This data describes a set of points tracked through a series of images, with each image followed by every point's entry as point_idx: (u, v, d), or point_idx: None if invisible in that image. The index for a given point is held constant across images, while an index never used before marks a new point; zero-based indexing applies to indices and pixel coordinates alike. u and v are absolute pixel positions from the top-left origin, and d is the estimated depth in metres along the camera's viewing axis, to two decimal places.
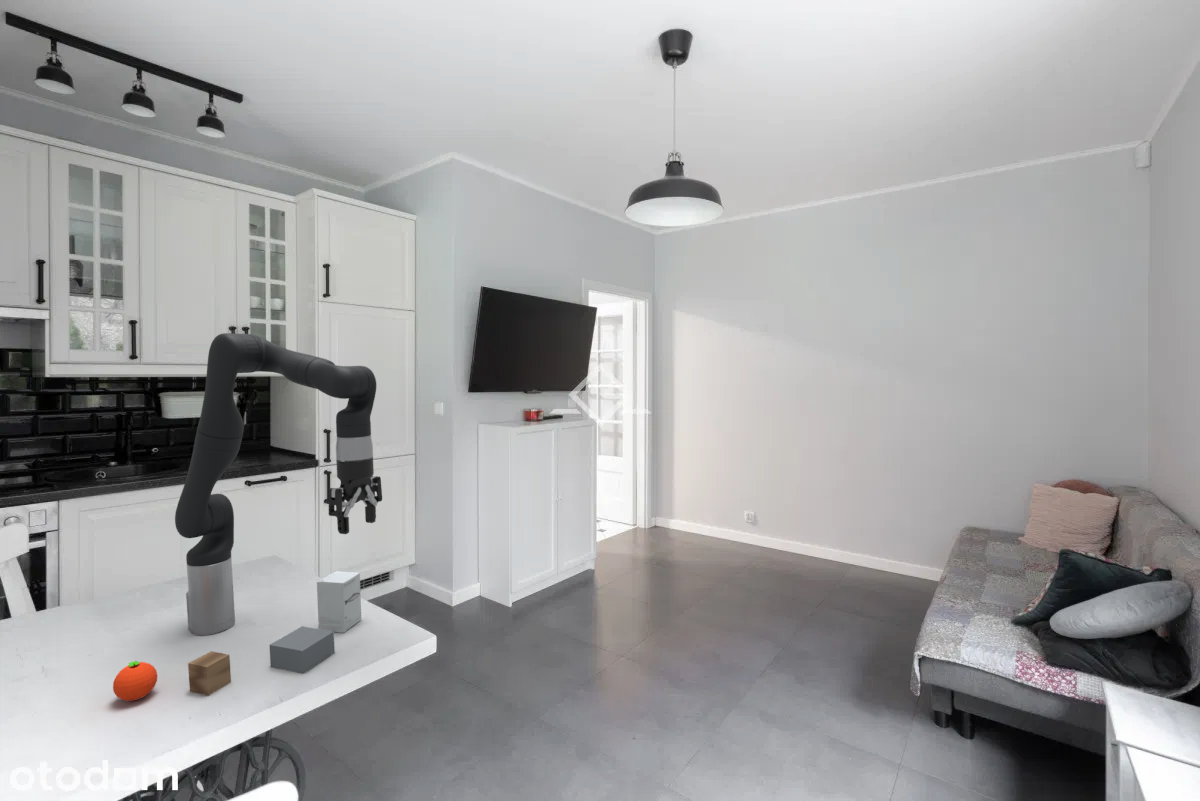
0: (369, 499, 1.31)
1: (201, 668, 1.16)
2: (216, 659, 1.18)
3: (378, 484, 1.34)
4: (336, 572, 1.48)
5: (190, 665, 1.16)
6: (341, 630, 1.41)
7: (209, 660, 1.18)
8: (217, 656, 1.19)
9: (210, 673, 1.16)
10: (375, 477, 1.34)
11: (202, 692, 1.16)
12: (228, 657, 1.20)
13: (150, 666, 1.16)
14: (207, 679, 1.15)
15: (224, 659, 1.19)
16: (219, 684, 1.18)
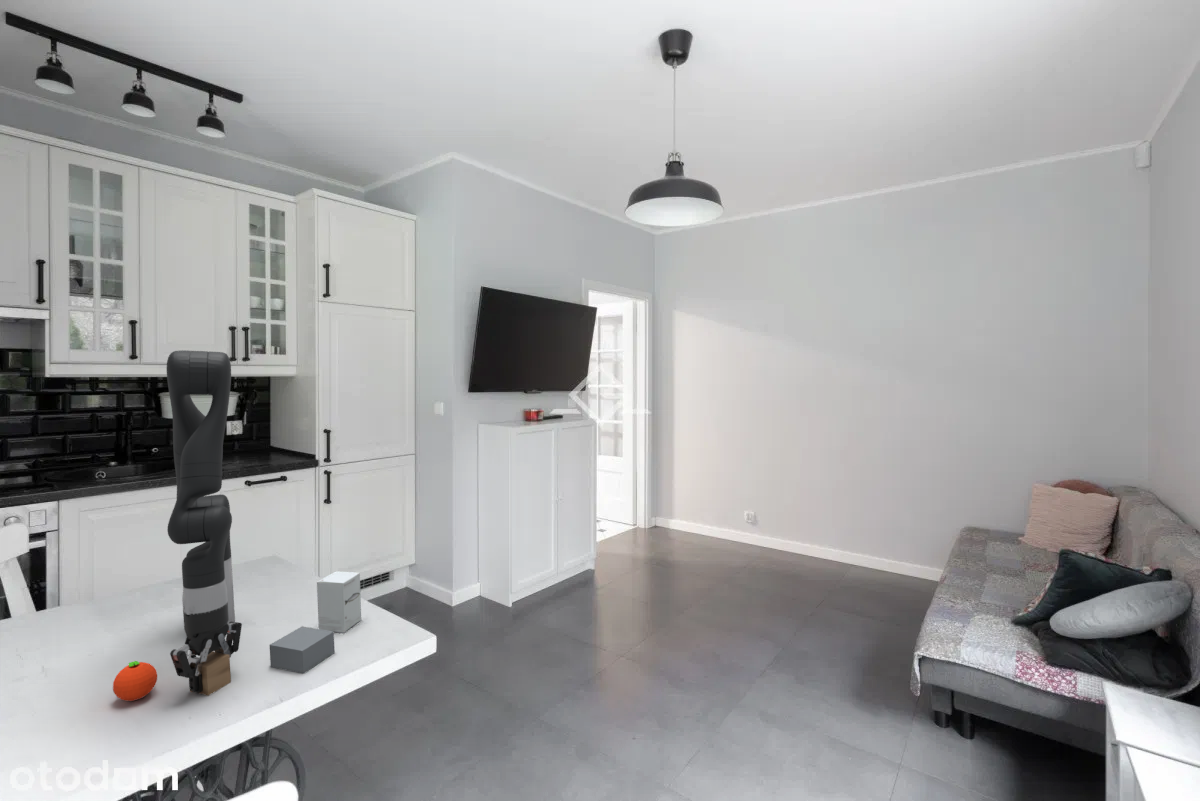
0: (221, 650, 1.20)
1: None
2: (216, 659, 1.18)
3: (237, 631, 1.23)
4: (336, 572, 1.48)
5: None
6: (341, 630, 1.41)
7: (209, 660, 1.18)
8: (217, 656, 1.19)
9: (210, 673, 1.16)
10: (235, 623, 1.23)
11: (202, 692, 1.16)
12: (228, 657, 1.20)
13: (150, 666, 1.16)
14: (207, 679, 1.15)
15: (224, 659, 1.19)
16: (219, 684, 1.18)
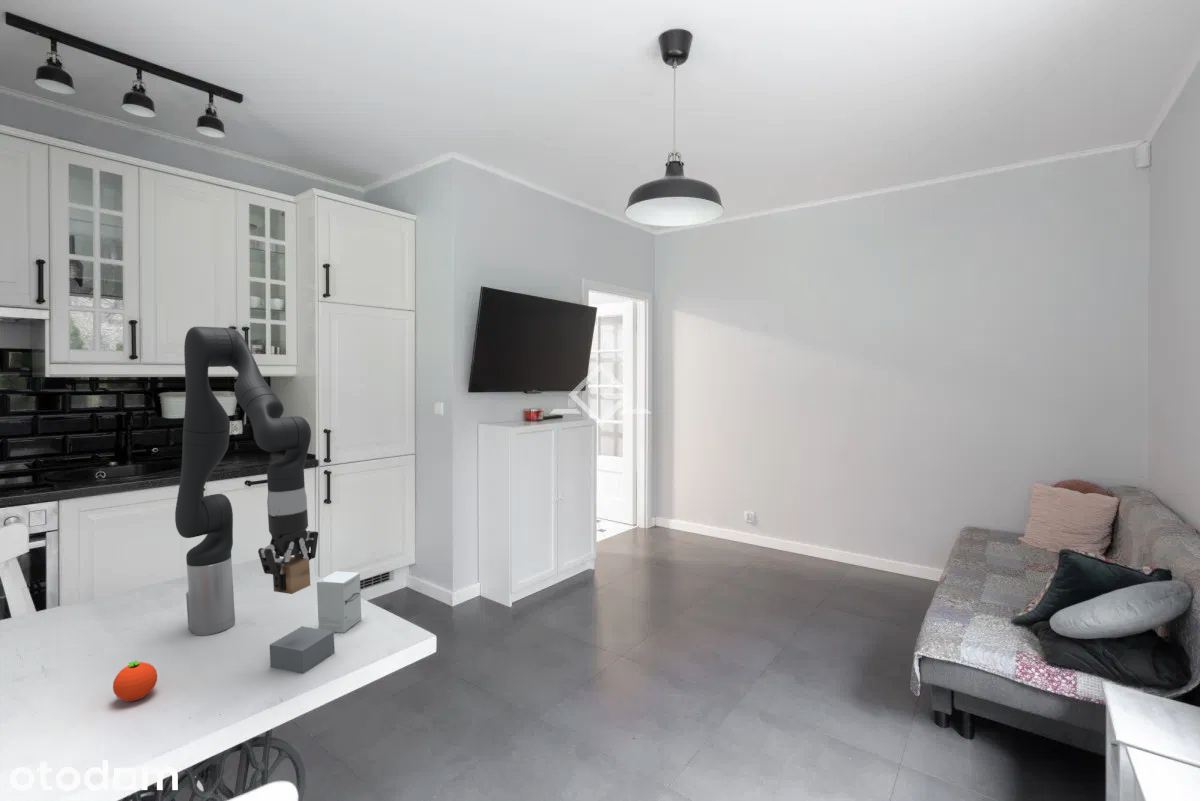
0: (301, 555, 1.27)
1: (285, 568, 1.23)
2: (298, 561, 1.26)
3: (314, 539, 1.31)
4: (336, 572, 1.48)
5: None
6: (341, 630, 1.41)
7: (291, 562, 1.26)
8: (298, 559, 1.27)
9: (293, 573, 1.24)
10: (313, 532, 1.31)
11: (286, 591, 1.24)
12: (308, 561, 1.27)
13: (150, 666, 1.16)
14: (290, 578, 1.23)
15: (305, 562, 1.27)
16: (300, 585, 1.26)
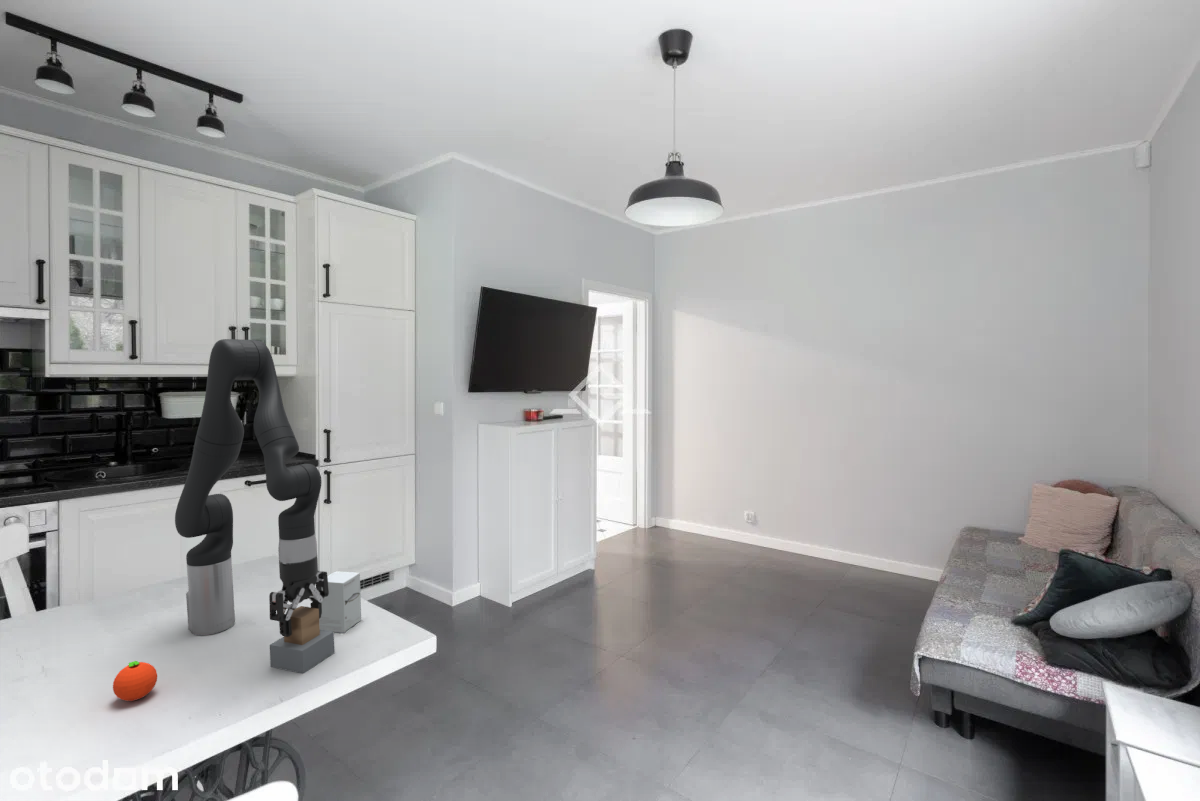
0: (314, 596, 1.30)
1: (296, 620, 1.25)
2: (308, 612, 1.28)
3: (324, 579, 1.33)
4: (336, 572, 1.48)
5: None
6: (341, 630, 1.41)
7: (301, 612, 1.28)
8: (308, 610, 1.29)
9: (303, 624, 1.26)
10: (321, 572, 1.33)
11: (296, 642, 1.26)
12: (317, 611, 1.30)
13: (150, 666, 1.16)
14: (301, 629, 1.25)
15: (315, 612, 1.29)
16: (310, 635, 1.28)
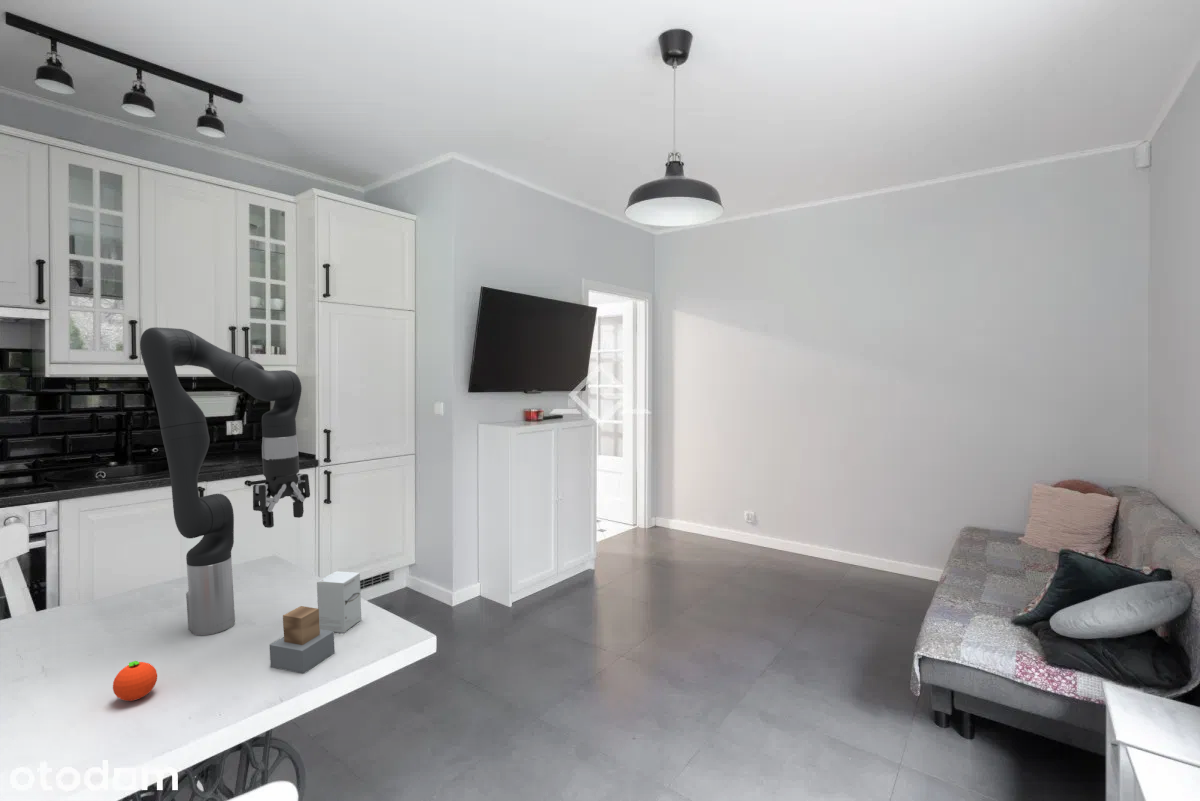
0: (296, 495, 1.40)
1: (296, 620, 1.25)
2: (308, 612, 1.28)
3: (305, 481, 1.43)
4: (336, 572, 1.48)
5: (285, 617, 1.26)
6: (341, 630, 1.41)
7: (301, 612, 1.28)
8: (308, 610, 1.29)
9: (303, 624, 1.26)
10: (303, 474, 1.43)
11: (296, 642, 1.26)
12: (317, 611, 1.30)
13: (150, 666, 1.16)
14: (301, 629, 1.25)
15: (315, 612, 1.29)
16: (310, 635, 1.28)
